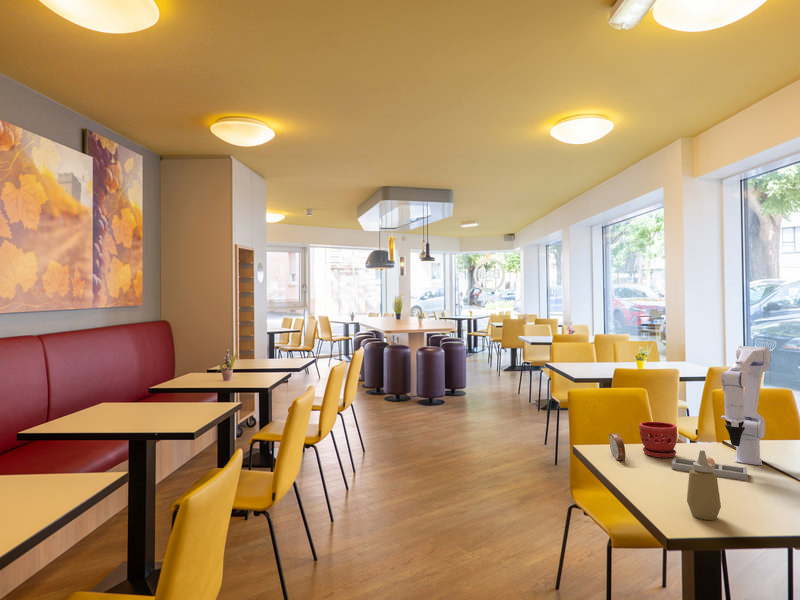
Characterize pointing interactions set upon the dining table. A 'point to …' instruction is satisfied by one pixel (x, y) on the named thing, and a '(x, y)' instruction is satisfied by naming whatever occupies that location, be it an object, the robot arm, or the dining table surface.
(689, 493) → the squeeze bottle
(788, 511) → the dining table surface
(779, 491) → the dining table surface
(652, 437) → the plant pot
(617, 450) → the tin
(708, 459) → the egg
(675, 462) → the grey compartment tray
